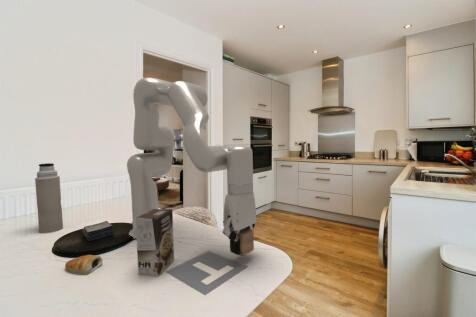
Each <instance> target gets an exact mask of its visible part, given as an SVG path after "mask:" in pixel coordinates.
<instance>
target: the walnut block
mask: <svg viewBox="0 0 476 317" xmlns="http://www.w3.org/2000/svg"><path fill="white" fill-rule="evenodd" d="M233 234H234V235H235V232H233ZM254 235H255V234H254V229H253V230H251V229H248V228H244V229H242V230H240V233H239V239H238V240H239V241H240V254H239V255H240V256H241V257H244V256H246V255H247V254H250V252H253V251H254V250H255V247H254V246H255V242H254V240H255V238H254ZM229 252H231V245H230V244H229ZM239 255H238V256H239Z"/></svg>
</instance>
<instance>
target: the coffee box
mask: <svg viewBox="0 0 476 317" xmlns="http://www.w3.org/2000/svg"><path fill="white" fill-rule="evenodd" d="M173 215H174V214H173V209H172V208H158V209H153V210H151V211H149V212H147V213H145V214H143V215H140V216H138V217H136V231H137V239H136V250H137V251H136V253H137V254H136V255H137V275H138V276H146V277H155V278H158V277H160V276H161V275H162V274H163V273H165V272H166V271H167V269H168V268H169V266H171V265H172V264H173V262H175V246H174V244H175V243H174V221H173V220H174V219H173V218H174V217H173Z"/></svg>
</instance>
